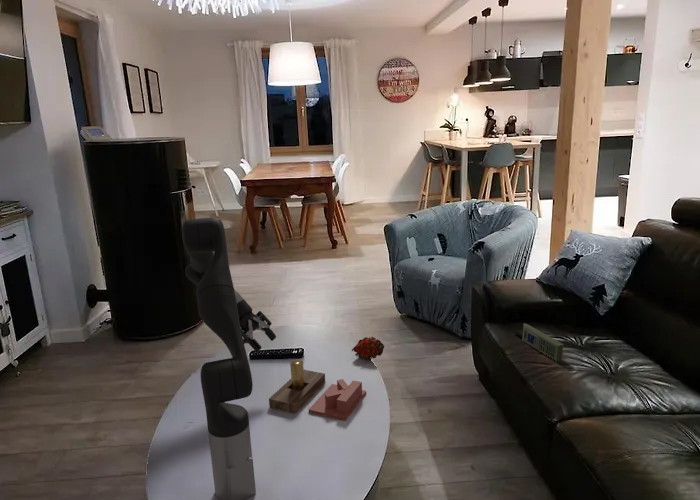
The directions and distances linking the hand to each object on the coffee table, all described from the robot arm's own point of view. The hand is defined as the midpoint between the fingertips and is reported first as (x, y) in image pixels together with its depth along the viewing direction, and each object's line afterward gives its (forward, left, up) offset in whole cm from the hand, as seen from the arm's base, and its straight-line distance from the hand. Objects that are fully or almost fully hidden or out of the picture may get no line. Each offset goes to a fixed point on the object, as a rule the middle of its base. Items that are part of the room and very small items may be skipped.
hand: (267, 344), depth 159 cm
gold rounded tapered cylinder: (-9, -5, -16) cm, 19 cm away
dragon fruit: (-5, -38, -16) cm, 41 cm away
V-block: (-21, -11, -16) cm, 28 cm away
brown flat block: (-9, -5, -16) cm, 19 cm away
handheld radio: (-41, -90, -16) cm, 100 cm away
